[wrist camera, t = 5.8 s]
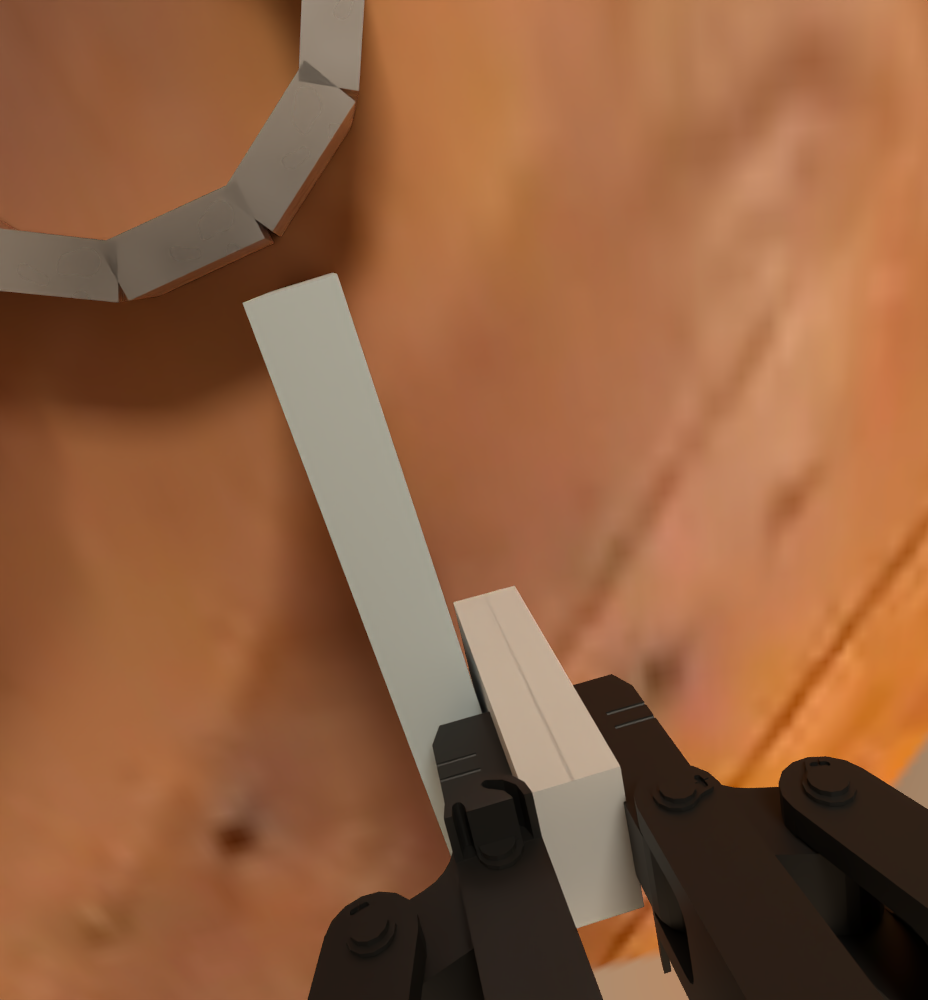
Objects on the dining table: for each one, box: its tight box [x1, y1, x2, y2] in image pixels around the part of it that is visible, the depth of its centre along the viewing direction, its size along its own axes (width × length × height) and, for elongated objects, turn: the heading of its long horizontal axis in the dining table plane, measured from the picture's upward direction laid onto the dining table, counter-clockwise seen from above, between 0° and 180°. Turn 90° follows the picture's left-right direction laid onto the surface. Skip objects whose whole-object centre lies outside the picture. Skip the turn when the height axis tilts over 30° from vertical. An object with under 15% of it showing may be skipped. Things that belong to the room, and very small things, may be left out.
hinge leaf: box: [243, 273, 482, 856], centre depth 17 cm, size 2×14×8 cm, turn 16°
